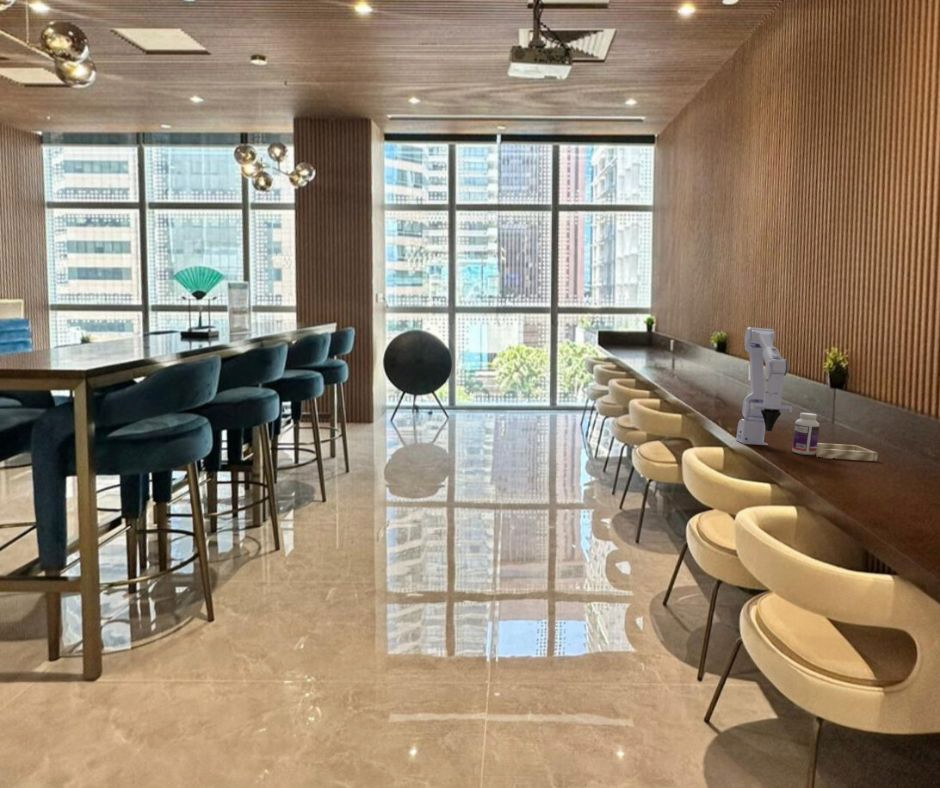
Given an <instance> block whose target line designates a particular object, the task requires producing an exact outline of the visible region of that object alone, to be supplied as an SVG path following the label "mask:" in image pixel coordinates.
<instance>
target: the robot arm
mask: <svg viewBox="0 0 940 788" xmlns="http://www.w3.org/2000/svg"><path fill="white" fill-rule="evenodd" d="M775 339H776V332H775V330H774V329H773V328H761V327H752V326H748V327H747V328H746V329H745V332H744V350H745V351H746V352H747V353H748V356H749V357H748V358H749V379H750V380H749V382H750V394H748V395H747V396H746V397H744V398H743V401H742V408H741V413H742V416H743V418H744V419H743V418H741V419H739V421H738V423H737V430H736V437H735V441H737V442H739V443H741V444H743V445H757V446H758V445H759V446H769V444H768V443H766V442H765V436H766V435H765V434H766V431H767V432H772V430H773V428H774V425H775V424H776V421H778V418H779V417H780V416H781V414H782V412H788V413H792V412H793V406H791V405H781V403H782V395H783V388H784V382H785V381H784V380H785V377H786V376H787V374H788V371H789V362H788V360H787V358H782V355H781V353H780V351H779V349H778V347H776V346H775V345H774V343H775ZM764 363H765V365H764ZM764 372H765V375H764ZM764 378H765V381H764Z"/></svg>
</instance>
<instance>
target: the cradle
mask: <svg viewBox="0 0 940 788" xmlns="http://www.w3.org/2000/svg"><path fill="white" fill-rule="evenodd" d="M878 455H879V453H878V452H877V451H874V450H871V449H868V448H865V447H863V446H859V445H857V444H840V443H839V444H838V443H824V442H817V450H816V453H815V457H816V458H818V457H821V458H820V459H833V458H835V459H836V460H837V459H839V460H853V461H868V462H877V461H878ZM822 457H823V458H822Z"/></svg>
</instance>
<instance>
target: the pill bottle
mask: <svg viewBox="0 0 940 788" xmlns="http://www.w3.org/2000/svg"><path fill="white" fill-rule="evenodd" d="M799 417H800V418H798V419H796V420H795V423H794V430H793V431H794V432H793V439H792V445H791V447H792V448H791V450H792V452H793V453H796V454H798V455H803V456H804V455H805V456H814V455H816V453H817V452H816V450H817V443H819V442H818V441H819V434H820V433H819V432H820V425H821V424H820V423H819V422H818V421H817V418H818V415H817V414H816V413H811V412H800V413H799Z"/></svg>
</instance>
